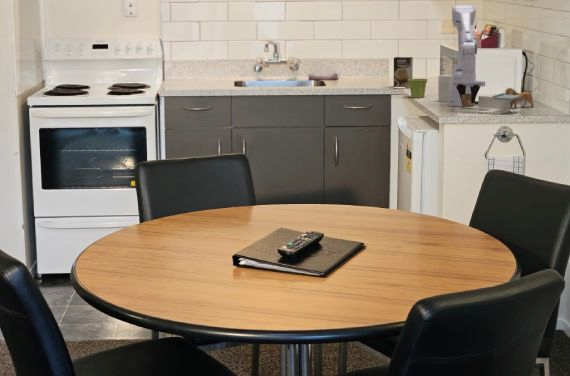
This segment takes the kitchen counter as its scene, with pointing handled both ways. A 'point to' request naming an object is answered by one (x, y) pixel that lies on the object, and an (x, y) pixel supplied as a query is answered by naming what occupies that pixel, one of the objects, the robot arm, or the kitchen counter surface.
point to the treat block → (467, 100)
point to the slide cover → (506, 97)
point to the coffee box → (402, 71)
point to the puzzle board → (488, 106)
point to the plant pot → (417, 87)
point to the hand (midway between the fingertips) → (468, 102)
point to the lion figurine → (524, 96)
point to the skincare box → (444, 87)
